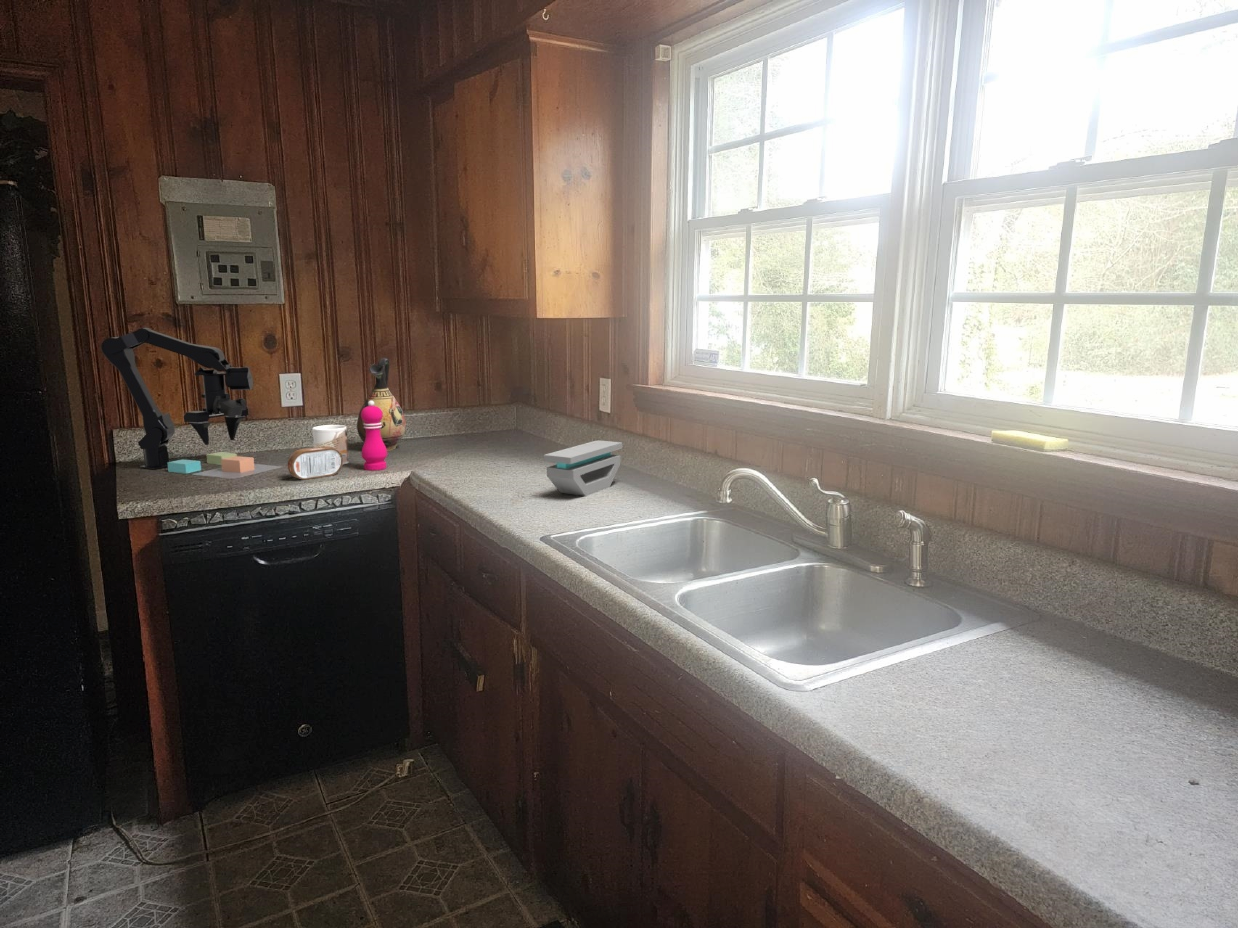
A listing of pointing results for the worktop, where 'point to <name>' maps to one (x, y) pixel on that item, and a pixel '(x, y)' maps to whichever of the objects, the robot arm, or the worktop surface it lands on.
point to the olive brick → (218, 457)
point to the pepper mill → (373, 438)
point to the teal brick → (184, 466)
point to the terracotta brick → (237, 464)
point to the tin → (315, 462)
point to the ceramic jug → (384, 408)
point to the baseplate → (233, 475)
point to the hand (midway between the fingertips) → (219, 442)
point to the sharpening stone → (584, 467)
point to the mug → (332, 438)
